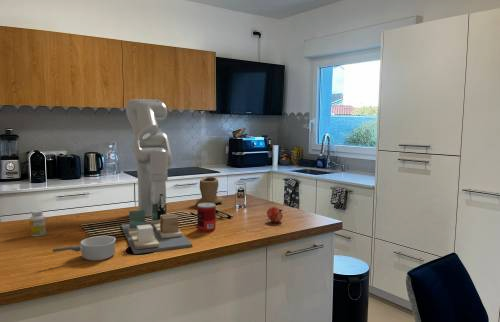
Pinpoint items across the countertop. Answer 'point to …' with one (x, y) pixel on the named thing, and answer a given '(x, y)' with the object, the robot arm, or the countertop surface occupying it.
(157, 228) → the strip
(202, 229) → the canned food
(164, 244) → the mat
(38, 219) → the supplement bottle
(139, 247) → the broken strip
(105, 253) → the saucepan
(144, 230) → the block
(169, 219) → the cube
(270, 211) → the pomegranate
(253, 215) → the countertop surface
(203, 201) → the stone cup
